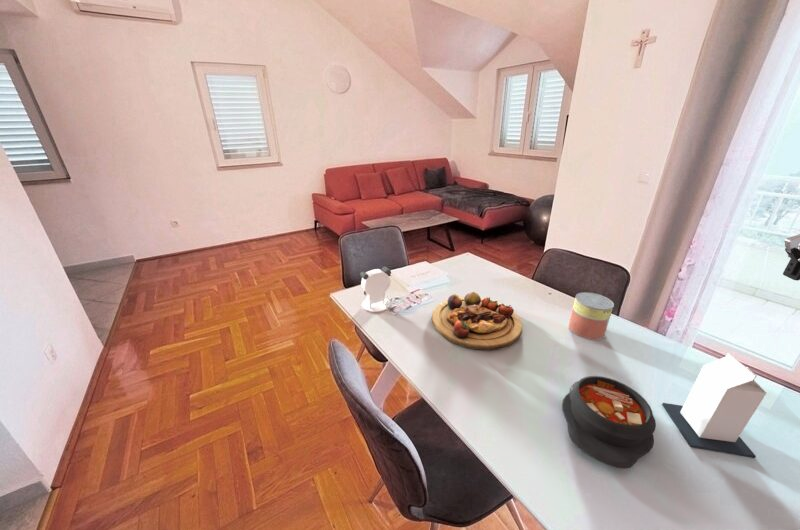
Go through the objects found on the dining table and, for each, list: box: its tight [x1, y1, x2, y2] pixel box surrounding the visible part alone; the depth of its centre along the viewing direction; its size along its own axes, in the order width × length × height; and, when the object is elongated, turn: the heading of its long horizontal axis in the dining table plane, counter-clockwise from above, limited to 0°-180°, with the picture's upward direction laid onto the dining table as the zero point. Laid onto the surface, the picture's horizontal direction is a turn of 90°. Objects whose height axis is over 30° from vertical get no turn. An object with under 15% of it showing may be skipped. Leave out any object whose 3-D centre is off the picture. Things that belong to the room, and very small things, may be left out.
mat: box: [662, 402, 757, 459], centre depth 74 cm, size 12×12×1 cm
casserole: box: [561, 375, 657, 470], centre depth 73 cm, size 25×19×8 cm
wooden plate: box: [431, 291, 523, 350], centre depth 112 cm, size 32×32×8 cm
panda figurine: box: [359, 266, 392, 313], centre depth 123 cm, size 12×11×15 cm
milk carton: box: [680, 352, 767, 442], centre depth 70 cm, size 7×7×19 cm
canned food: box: [567, 291, 615, 341], centre depth 107 cm, size 11×11×12 cm
